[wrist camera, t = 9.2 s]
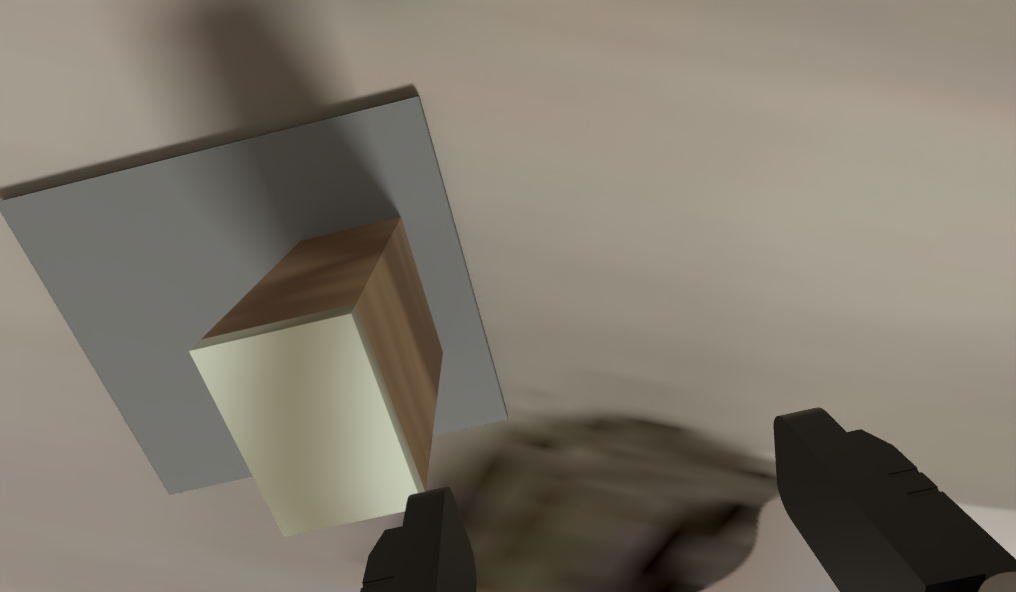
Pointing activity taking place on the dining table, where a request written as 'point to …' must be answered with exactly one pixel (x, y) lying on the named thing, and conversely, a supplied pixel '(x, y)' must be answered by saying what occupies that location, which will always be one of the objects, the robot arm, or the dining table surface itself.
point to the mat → (242, 267)
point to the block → (331, 378)
